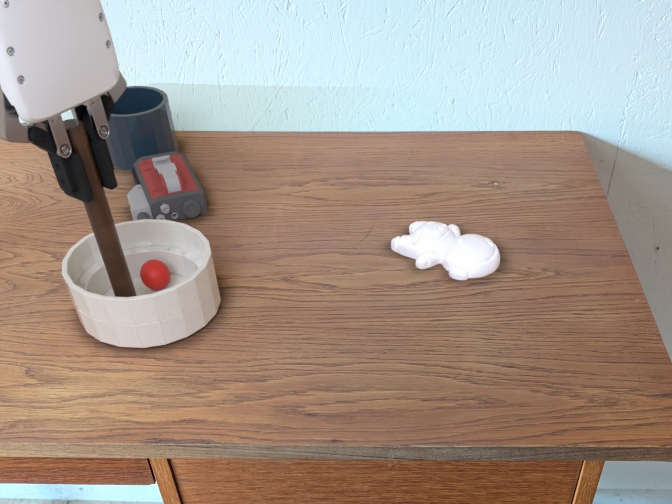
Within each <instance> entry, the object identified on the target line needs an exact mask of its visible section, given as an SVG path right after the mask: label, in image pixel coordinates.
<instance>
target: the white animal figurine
mask: <svg viewBox="0 0 672 504" xmlns="http://www.w3.org/2000/svg"><path fill="white" fill-rule="evenodd" d="M408 232H409V234H403V235H401V236H400V235H398V236H395V237H394V238H392V239H391V241H390V248H391V249H390V250H392V251H394V252H395V253H397V254H399V255H402V256H404V257H406V258H410V259H413V260H415V264H414V265H415V267H416V268H417V269H418V270H425V269H429V268H431V267H435V266H436V265H441V266H442V267H443V268H444V269H445V270H446V271H447V272H448V276H449V277H450V278H451V279H454V280H457V281H467V280H469V279H479V278H483V277H486V276H489V275H490V274H493V273H494V272H496V270H497V269H498V268H499V266H500V264H501V253H500V250H499V248H498V246H497V244H496V243H494V241H493V240H492V239H491V238H489V237H486V236H483V235H482V234H476V233H465V234H462V233H461V229H460V228H459V226H458V225H457V224H453V223H450V224H445V223H444V222H440V221H439V222H438V221H433V220H432V221H426V220H420V221H419V220H417V221H414V222H412V223H410V225H409V226H408ZM461 234H462V235H461Z"/></svg>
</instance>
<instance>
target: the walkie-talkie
mask: <svg viewBox="0 0 672 504" xmlns="http://www.w3.org/2000/svg"><path fill="white" fill-rule="evenodd" d="M133 166H134V167H132V169H131V170H130V172H131V175H132V177H133V181H134V183H135V185H134V186H133V187H132V188H131V189H130V190H129V191H128V193H127V194H126V198H127V202H128V205H129V210H130V214H131V218H132V221H134V220H142V219H160V220H170V221H175V220H179V219H185V218H188V219H189V218H191V219H195V218H197V217H199V216H200V215H203V214H207V213H208V210H209V209H208V205H209V203H208V199H207V194H206V193H205V192H204V189H203V187H202V186H201V183H200V181H199V180H198V177H197V176H196V174H195V172H194V170H193V168H192V166H191V164H190V162H189V160H188V158H187V157H186V155H185V154H184V153H181V152H179V153H178V152H176V151H172V152H167V153H161V154H155V155H150V156H144V157H140V158H139V159H138V160H137V161H136V162H135V163H134V164H133Z"/></svg>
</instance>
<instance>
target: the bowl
mask: <svg viewBox="0 0 672 504" xmlns="http://www.w3.org/2000/svg"><path fill="white" fill-rule="evenodd" d="M115 227H116V230H117V233H118V236H119V240H120V243H121V246H122V249H123V253H124V256H125V259H126V262H127V265H128V269H129V272H130V275H131V278H132V282H133V285H134V288H135V291H136V295H137V296H133V297H115V295H114V292H113V289H112V286H111V283H110V280H109V277H108V274H107V271H106V268H105V265H104V262H103V259H102V256H101V253H100V250H99V247H98V244H97V242H96V239H95V236H94V233H93V232H91V233H89V234H87V235H85V236H84V237H82V238H81V239H80V240H78V241H77V242H76V243H75V244H73V245H72V246H71V247H70V248H69V249H68V251H67V253H66V254H65V255H64V257H63V259H62V261H61V276H62V279H63V281H64V284H65V287H66V288H67V292H68V295H69V296H70V299H71V302H72V304H73V307H74V309H75V311H76V314H77V317H78V319H79V322H80V323H81V325H82V327H83V329H84V330H85V332H86V333H87V334H88V335H90V336H91V337H93V338H94V339H96V340H97V341H99V342H101V343H105V344H108V345H111V346H115V347H118V348H132V349H133V348H134V349H135V348H136V349H146V348H147V349H148V348H152V347H159V346H165V345H168V344H172V343H175V342H177V341H180V340H183V339H187V338H188V337H190V336H191V335H193V334H195V333H197V332H198V331H200V330H201V329H203V328H204V327H206V326H207V325H208V323H209V322H210V321H211V320H212V319H213V318H214V317H215V316H216V315H217V313H218V310H219V308H220V304H221V302H222V297H221V292H220V287H219V282H218V278H217V277H218V276H217V274H216V268H215V263H214V259H213V253H212V248H211V244H210V241H209V239H208V238H207V237H206V236H205V235H204V234H203V233H202V232H201V231H200V230H199V229H197V228H194V227H192V226H191V225H190V224H187V223H184V222H178V221H175V220H160V219H142V220H134V221H133V220H128V221H126V220H125V221H121V222H118V223H115ZM149 260H159V261H161V262H163V263H164V264H165V265H166V266H167V267H168V269H169V271H170V281H169V283H168V285H167V286H166V287H165V288H163V289H161V290H152V289H150V288H148V287H147V286H145V285H144V283H143V282H142V280H141V278H140V269H141V267H142V265H143V264H144V263H145V262H147V261H149Z"/></svg>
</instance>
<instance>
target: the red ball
mask: <svg viewBox="0 0 672 504" xmlns="http://www.w3.org/2000/svg"><path fill="white" fill-rule="evenodd" d="M140 278H141V280H142V282H143V283H144V285H145V286H147V287H148V288H150V289H152V290H161V289H163V288H165V287H166V286H167V285H168V283H169V281H170V271H169V269H168V267H167V266H166V265H165V264H164V263H163V262H161V261H159V260H149V261H147V262H145V263H144V264H143V265H142V267H141V269H140Z"/></svg>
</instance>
